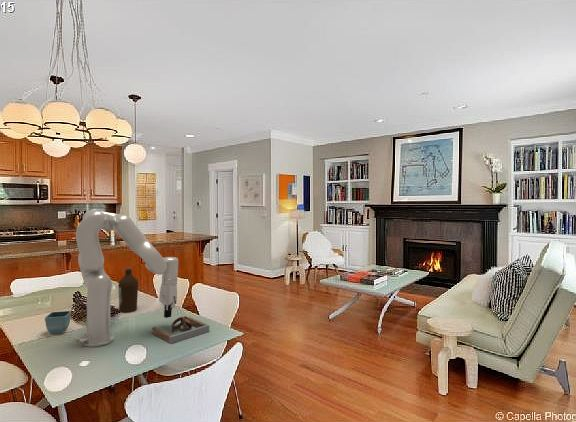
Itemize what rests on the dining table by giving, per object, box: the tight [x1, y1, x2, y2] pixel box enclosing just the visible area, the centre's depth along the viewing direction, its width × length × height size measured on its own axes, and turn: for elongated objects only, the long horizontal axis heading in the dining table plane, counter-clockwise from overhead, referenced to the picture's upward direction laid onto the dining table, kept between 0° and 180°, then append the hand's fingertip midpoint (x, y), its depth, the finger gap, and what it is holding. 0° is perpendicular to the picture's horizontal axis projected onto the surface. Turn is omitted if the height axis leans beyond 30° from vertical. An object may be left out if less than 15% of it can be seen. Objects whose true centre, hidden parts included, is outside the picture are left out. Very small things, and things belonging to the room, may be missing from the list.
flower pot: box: [44, 310, 72, 335], centre depth 167 cm, size 9×9×9 cm
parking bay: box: [151, 316, 210, 344], centre depth 171 cm, size 21×18×3 cm
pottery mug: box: [170, 315, 193, 333], centre depth 173 cm, size 12×10×8 cm
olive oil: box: [117, 267, 139, 314], centre depth 202 cm, size 11×11×25 cm
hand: (167, 317), depth 177 cm, fingers closed
